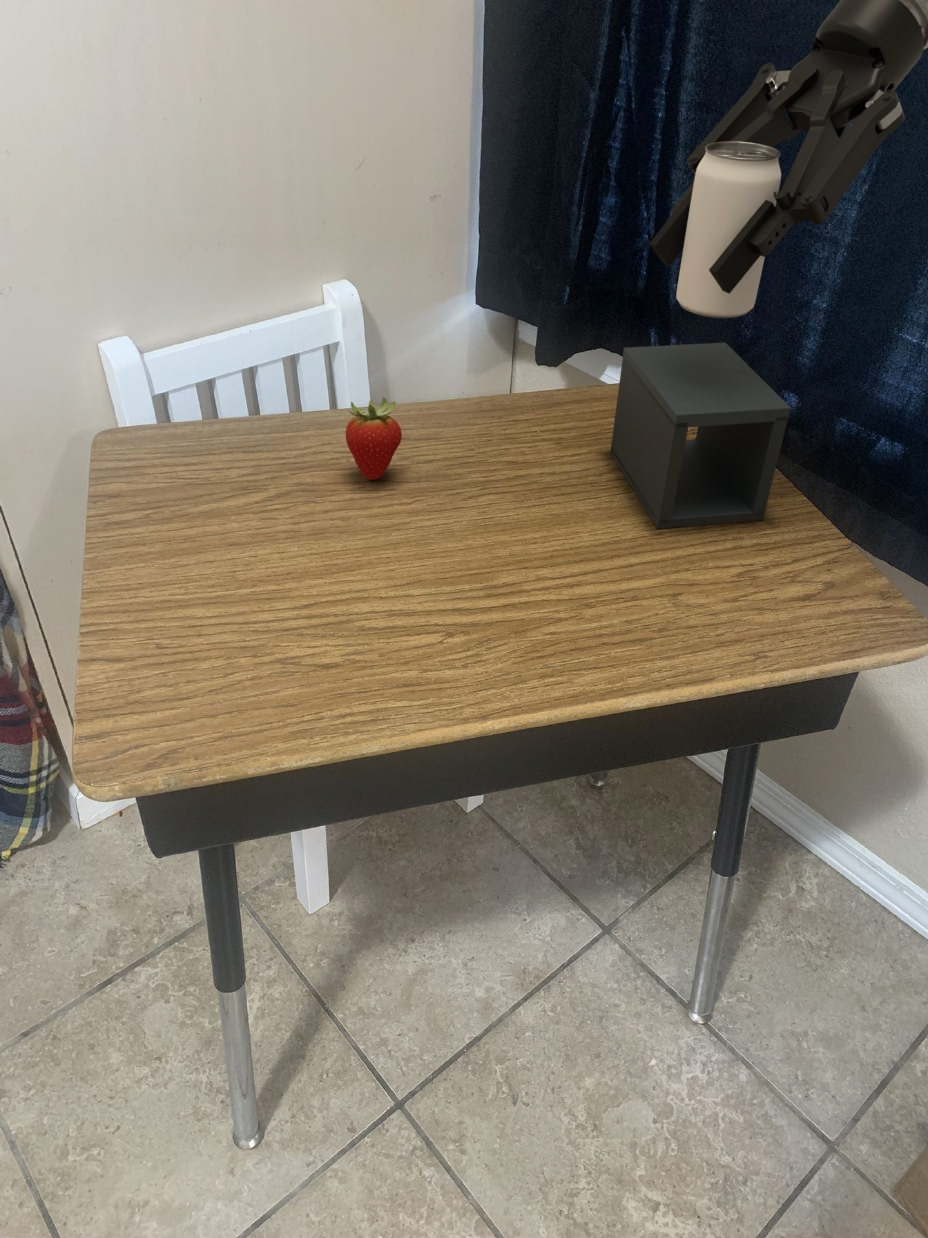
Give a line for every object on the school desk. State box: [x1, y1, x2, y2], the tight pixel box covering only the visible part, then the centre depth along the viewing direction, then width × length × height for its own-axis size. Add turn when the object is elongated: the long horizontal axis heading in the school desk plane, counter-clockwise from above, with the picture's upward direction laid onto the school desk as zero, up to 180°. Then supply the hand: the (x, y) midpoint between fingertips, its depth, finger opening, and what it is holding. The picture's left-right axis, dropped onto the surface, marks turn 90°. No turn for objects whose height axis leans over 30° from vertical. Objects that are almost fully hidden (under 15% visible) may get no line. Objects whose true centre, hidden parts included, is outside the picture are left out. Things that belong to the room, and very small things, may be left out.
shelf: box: [610, 342, 792, 530], centre depth 89 cm, size 14×10×11 cm
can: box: [675, 141, 782, 319], centre depth 78 cm, size 6×6×12 cm
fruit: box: [345, 396, 403, 481], centre depth 90 cm, size 5×5×8 cm
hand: (688, 267), depth 78 cm, fingers closed on can, 6 cm apart
